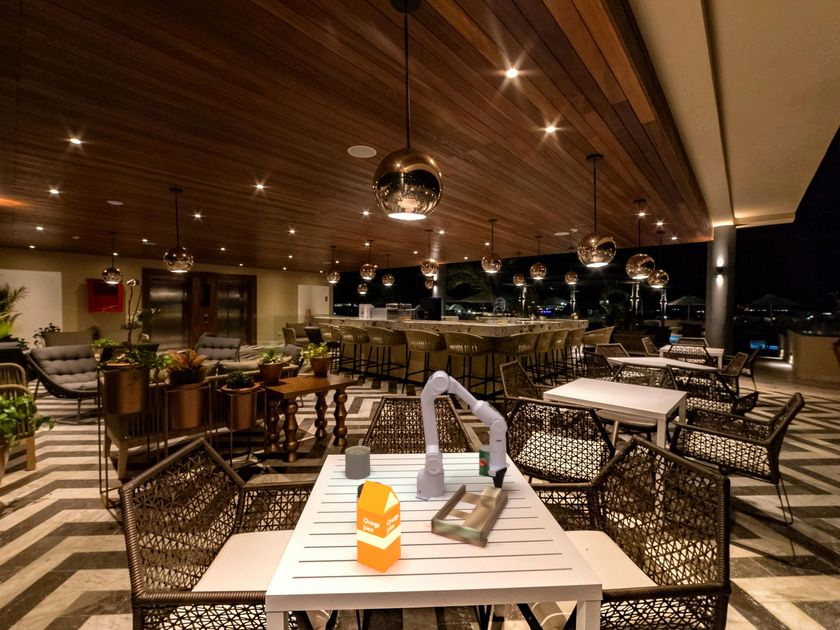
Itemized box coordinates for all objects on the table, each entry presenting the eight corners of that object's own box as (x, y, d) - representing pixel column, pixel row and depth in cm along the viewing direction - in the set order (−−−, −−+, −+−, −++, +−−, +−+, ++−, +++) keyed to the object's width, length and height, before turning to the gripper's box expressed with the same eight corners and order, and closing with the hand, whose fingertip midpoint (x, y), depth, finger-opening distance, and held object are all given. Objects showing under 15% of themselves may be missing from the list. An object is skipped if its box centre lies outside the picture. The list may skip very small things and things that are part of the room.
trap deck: (431, 533, 111) (431, 519, 111) (463, 495, 134) (463, 484, 134) (483, 547, 103) (483, 533, 103) (507, 505, 126) (507, 493, 126)
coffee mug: (359, 481, 146) (358, 456, 146) (340, 476, 152) (340, 451, 152) (380, 469, 158) (380, 445, 158) (362, 465, 163) (361, 442, 163)
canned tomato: (475, 474, 152) (474, 447, 152) (488, 469, 156) (488, 443, 157) (489, 481, 145) (489, 452, 145) (503, 476, 150) (502, 448, 150)
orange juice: (374, 546, 104) (374, 474, 105) (401, 556, 100) (400, 481, 100) (356, 562, 98) (355, 485, 98) (384, 573, 93) (383, 493, 93)
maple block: (480, 506, 123) (480, 494, 123) (487, 497, 129) (487, 485, 129) (495, 510, 121) (495, 497, 121) (501, 500, 127) (501, 488, 127)
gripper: (503, 459, 124) (504, 500, 124) (514, 445, 137) (514, 482, 137) (483, 455, 127) (483, 495, 127) (495, 442, 140) (495, 479, 140)
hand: (498, 488), depth 132 cm, fingers closed
